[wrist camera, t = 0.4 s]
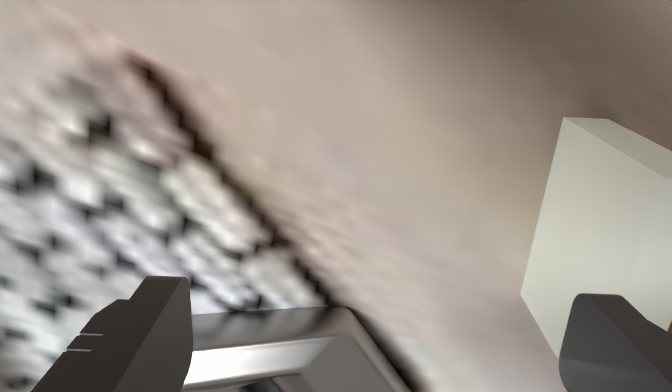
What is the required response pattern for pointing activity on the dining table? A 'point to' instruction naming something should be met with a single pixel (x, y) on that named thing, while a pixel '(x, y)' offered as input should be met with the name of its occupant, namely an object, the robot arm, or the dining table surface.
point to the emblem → (287, 353)
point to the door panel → (602, 226)
